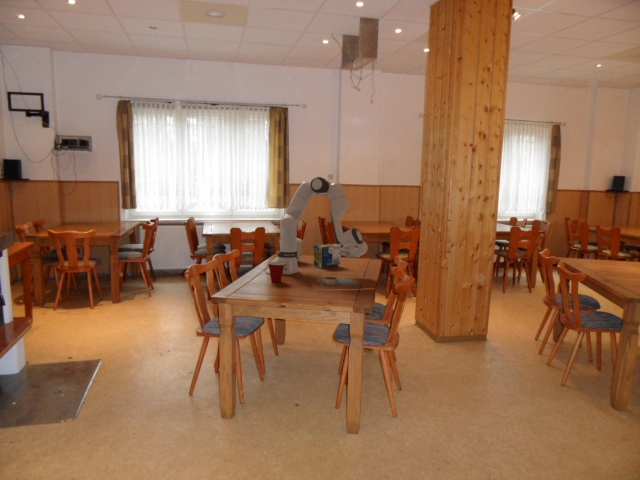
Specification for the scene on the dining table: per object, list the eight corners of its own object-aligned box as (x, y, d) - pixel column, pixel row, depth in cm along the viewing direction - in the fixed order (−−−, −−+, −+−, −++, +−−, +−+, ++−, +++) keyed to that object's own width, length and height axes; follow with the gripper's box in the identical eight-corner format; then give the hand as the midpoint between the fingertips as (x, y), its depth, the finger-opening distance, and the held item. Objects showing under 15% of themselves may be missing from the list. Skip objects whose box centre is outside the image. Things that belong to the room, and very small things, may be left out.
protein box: (313, 266, 330) (313, 245, 327) (330, 264, 338) (331, 243, 336) (321, 268, 321) (321, 247, 319) (338, 266, 329) (339, 245, 327)
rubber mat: (320, 287, 266) (320, 285, 265) (315, 280, 282) (315, 279, 282) (358, 286, 269) (358, 284, 269) (351, 280, 286) (351, 278, 286)
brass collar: (323, 285, 267) (323, 280, 266) (321, 281, 276) (321, 276, 276) (339, 284, 268) (339, 279, 268) (336, 281, 278) (336, 276, 277)
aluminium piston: (333, 264, 272) (333, 245, 270) (331, 263, 277) (331, 243, 276) (341, 264, 273) (342, 245, 271) (339, 263, 278) (340, 243, 276)
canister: (295, 265, 332) (296, 236, 329) (274, 262, 340) (274, 234, 337) (306, 261, 349) (307, 234, 346) (286, 259, 356) (286, 232, 353)
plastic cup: (288, 281, 280) (289, 262, 278) (277, 284, 271) (277, 264, 269) (275, 278, 286) (275, 260, 284) (263, 281, 277) (263, 262, 275)
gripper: (336, 243, 290) (322, 246, 280) (362, 247, 277) (349, 250, 267) (336, 253, 291) (322, 256, 281) (362, 257, 278) (348, 260, 267)
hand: (335, 253), depth 273 cm, fingers closed on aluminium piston, 5 cm apart
